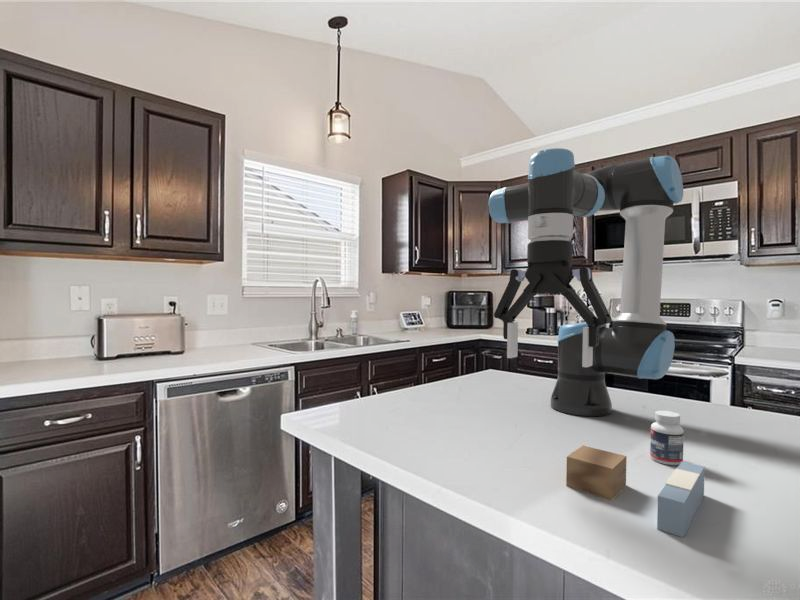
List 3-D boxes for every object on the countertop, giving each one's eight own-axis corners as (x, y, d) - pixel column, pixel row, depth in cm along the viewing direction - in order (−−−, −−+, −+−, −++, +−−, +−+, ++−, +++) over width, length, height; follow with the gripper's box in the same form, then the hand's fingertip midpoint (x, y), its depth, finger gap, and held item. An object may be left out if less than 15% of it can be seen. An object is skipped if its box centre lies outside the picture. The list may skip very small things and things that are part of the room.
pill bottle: (644, 455, 85) (644, 409, 85) (669, 454, 85) (670, 409, 85) (662, 466, 80) (663, 417, 79) (689, 465, 80) (690, 417, 80)
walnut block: (566, 487, 72) (566, 456, 71) (582, 473, 77) (582, 445, 77) (611, 501, 67) (612, 468, 67) (625, 486, 72) (626, 456, 72)
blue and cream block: (657, 528, 59) (657, 494, 59) (681, 489, 71) (681, 459, 70) (683, 537, 57) (684, 501, 57) (703, 494, 69) (704, 465, 68)
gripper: (476, 243, 83) (475, 356, 83) (620, 233, 66) (617, 373, 67) (496, 246, 88) (495, 352, 89) (633, 238, 72) (630, 367, 72)
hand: (547, 361), depth 78 cm, fingers open, 13 cm apart
